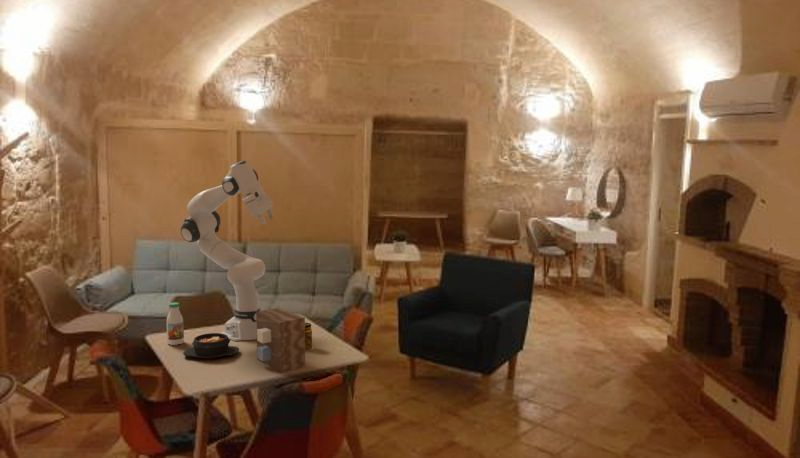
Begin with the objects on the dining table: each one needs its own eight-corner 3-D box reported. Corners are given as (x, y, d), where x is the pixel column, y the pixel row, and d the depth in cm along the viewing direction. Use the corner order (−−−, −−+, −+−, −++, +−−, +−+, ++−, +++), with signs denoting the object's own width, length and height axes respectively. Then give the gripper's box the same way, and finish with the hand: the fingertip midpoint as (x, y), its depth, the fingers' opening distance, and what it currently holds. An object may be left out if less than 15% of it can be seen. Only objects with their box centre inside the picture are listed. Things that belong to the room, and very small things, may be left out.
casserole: (178, 362, 279) (177, 344, 277) (189, 349, 297) (188, 332, 296) (235, 361, 280) (234, 343, 279) (242, 348, 299) (242, 331, 298)
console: (280, 372, 267) (280, 322, 264) (257, 358, 284) (256, 311, 281) (305, 366, 275) (304, 317, 272) (280, 353, 291) (280, 307, 289)
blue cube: (263, 361, 271) (262, 350, 270) (257, 358, 274) (257, 347, 274) (273, 358, 274) (273, 347, 273) (268, 355, 278) (267, 345, 277)
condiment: (315, 349, 299) (315, 324, 297) (298, 352, 294) (298, 327, 292) (308, 345, 305) (308, 321, 303) (292, 348, 300) (292, 323, 298)
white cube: (262, 343, 270) (262, 332, 269) (257, 340, 273) (257, 329, 273) (273, 341, 273) (272, 330, 272) (267, 338, 277) (267, 327, 276)
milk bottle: (163, 344, 303) (162, 304, 301) (175, 340, 310) (173, 300, 308) (176, 346, 300) (174, 305, 298) (187, 341, 307) (186, 302, 305)
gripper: (256, 192, 295) (270, 218, 298) (240, 201, 276) (255, 229, 278) (268, 187, 294) (281, 213, 296) (252, 195, 274) (267, 223, 276)
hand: (268, 221), depth 287 cm, fingers open, 8 cm apart
